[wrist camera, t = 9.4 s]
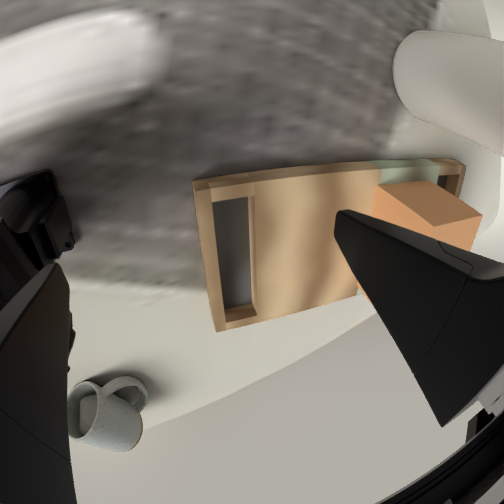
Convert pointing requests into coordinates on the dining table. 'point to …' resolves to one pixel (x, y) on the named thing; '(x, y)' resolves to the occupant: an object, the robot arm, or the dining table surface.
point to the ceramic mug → (106, 415)
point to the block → (427, 212)
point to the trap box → (291, 232)
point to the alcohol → (454, 84)
